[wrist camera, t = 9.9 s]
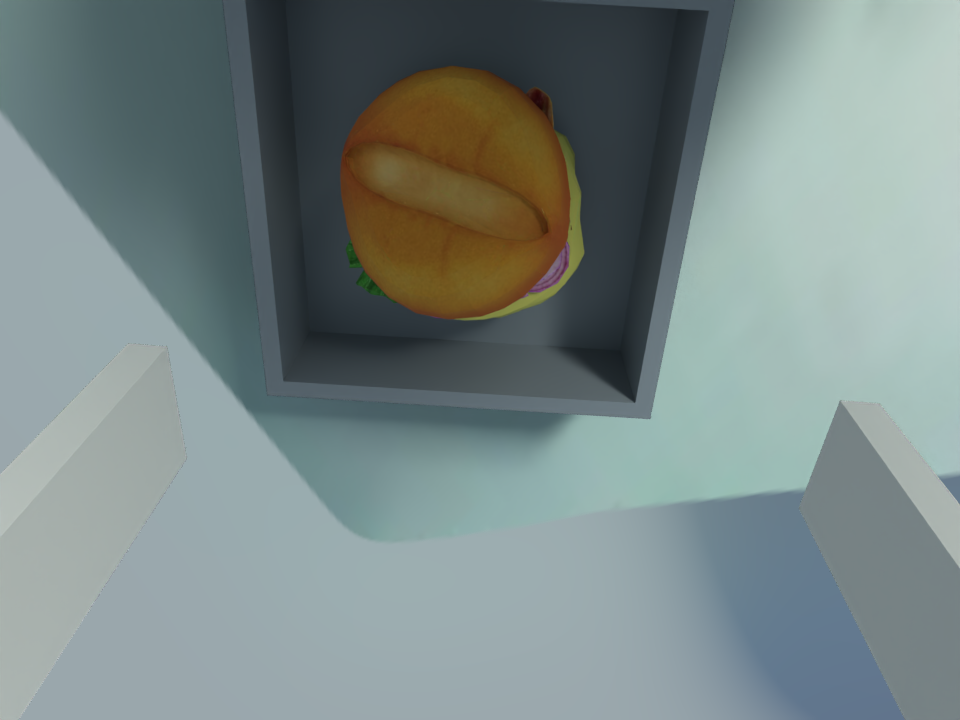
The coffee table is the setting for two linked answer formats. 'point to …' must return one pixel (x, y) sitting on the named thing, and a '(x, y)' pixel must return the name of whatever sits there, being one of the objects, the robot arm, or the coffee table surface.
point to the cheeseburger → (461, 196)
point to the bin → (576, 114)
